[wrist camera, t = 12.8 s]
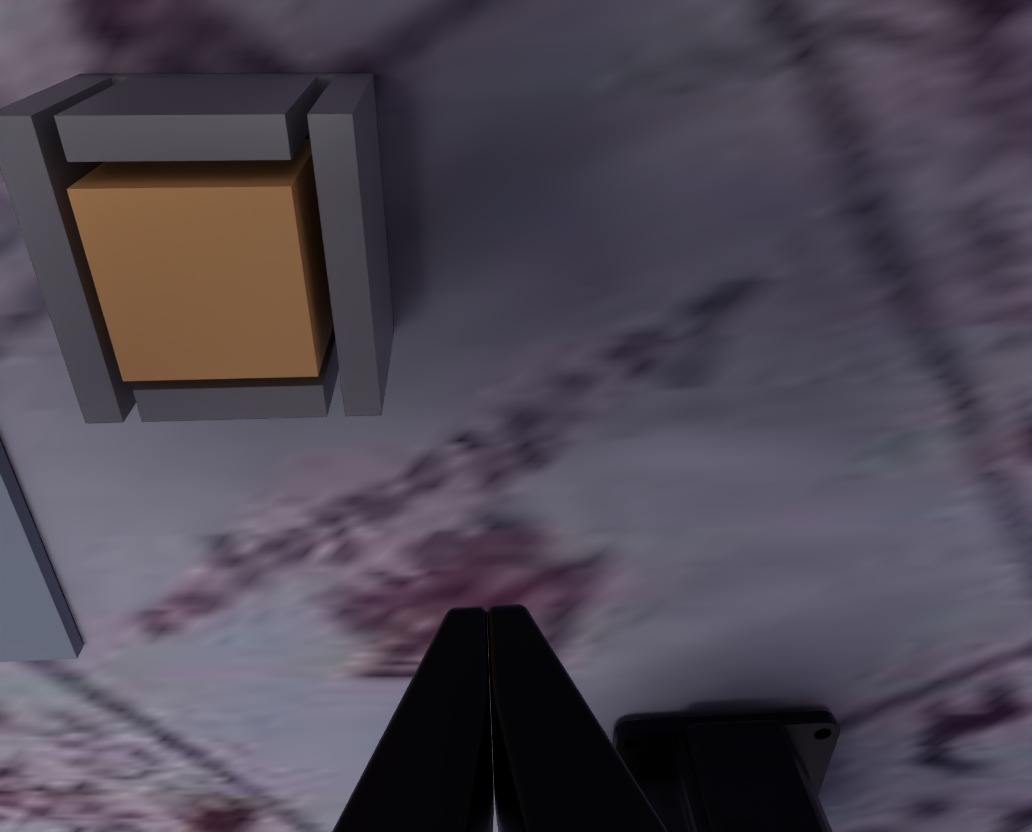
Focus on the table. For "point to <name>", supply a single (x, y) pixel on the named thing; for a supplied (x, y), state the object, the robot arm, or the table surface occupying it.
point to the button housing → (207, 137)
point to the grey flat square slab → (29, 586)
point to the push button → (208, 266)
